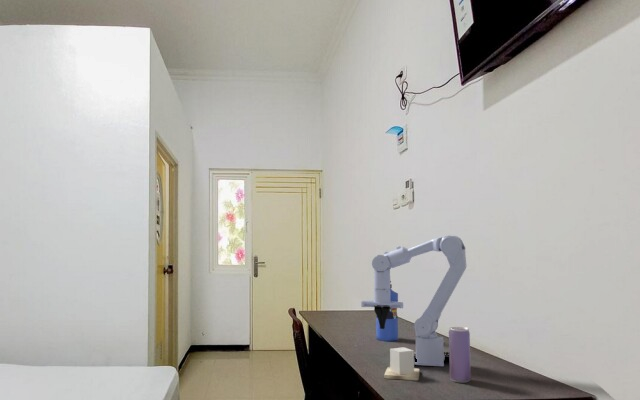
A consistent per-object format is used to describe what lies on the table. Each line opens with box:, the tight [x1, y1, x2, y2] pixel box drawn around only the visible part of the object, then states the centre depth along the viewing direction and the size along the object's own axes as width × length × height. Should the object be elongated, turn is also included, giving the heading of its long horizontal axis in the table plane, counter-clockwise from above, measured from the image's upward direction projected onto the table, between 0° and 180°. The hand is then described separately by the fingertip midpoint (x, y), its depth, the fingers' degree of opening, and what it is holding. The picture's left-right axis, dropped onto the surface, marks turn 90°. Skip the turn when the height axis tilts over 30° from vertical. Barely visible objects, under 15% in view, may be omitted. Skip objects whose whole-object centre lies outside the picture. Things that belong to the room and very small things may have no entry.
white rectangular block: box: [389, 346, 415, 375], centre depth 153 cm, size 5×5×7 cm
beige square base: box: [383, 366, 420, 381], centre depth 152 cm, size 10×10×6 cm
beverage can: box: [448, 326, 472, 384], centre depth 147 cm, size 6×6×15 cm
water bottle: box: [375, 280, 399, 342], centre depth 210 cm, size 9×9×25 cm
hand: (382, 328), depth 174 cm, fingers closed
